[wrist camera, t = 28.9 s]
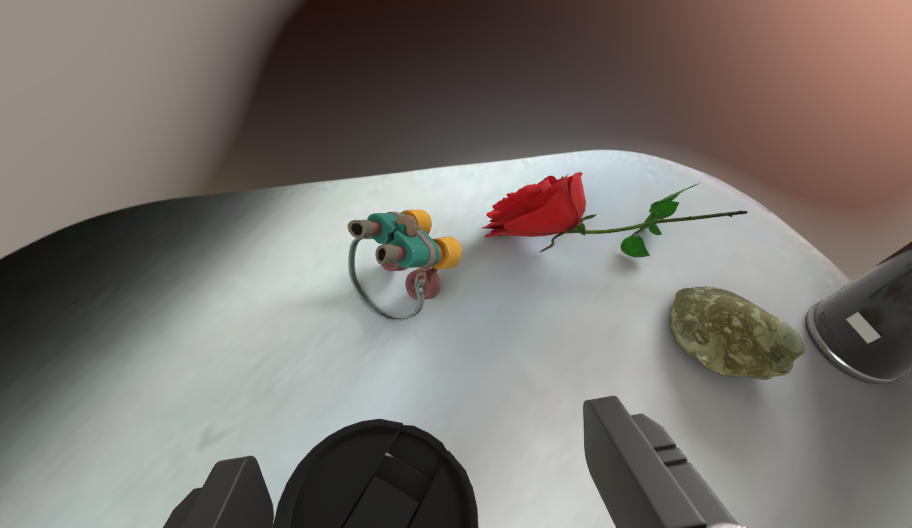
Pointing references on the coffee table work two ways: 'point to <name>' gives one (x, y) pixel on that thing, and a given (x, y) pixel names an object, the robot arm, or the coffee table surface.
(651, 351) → the coffee table surface
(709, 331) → the green rounded lump
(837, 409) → the coffee table surface
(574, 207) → the flower
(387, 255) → the binoculars
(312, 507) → the travel mug
